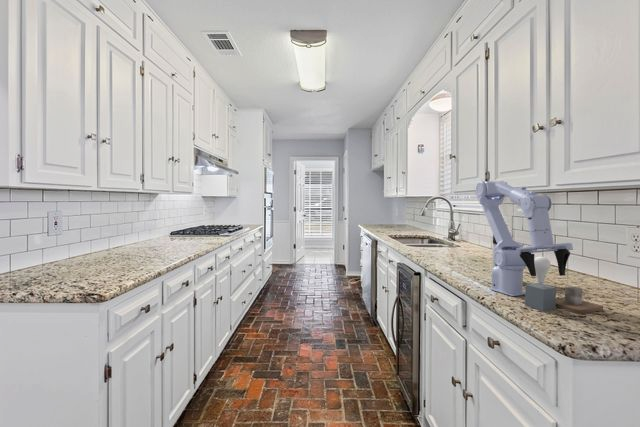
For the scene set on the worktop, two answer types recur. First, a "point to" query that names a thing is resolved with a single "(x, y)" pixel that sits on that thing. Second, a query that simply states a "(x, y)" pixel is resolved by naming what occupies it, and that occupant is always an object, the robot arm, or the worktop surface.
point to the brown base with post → (576, 302)
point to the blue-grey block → (540, 296)
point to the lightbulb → (541, 268)
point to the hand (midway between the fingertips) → (547, 275)
